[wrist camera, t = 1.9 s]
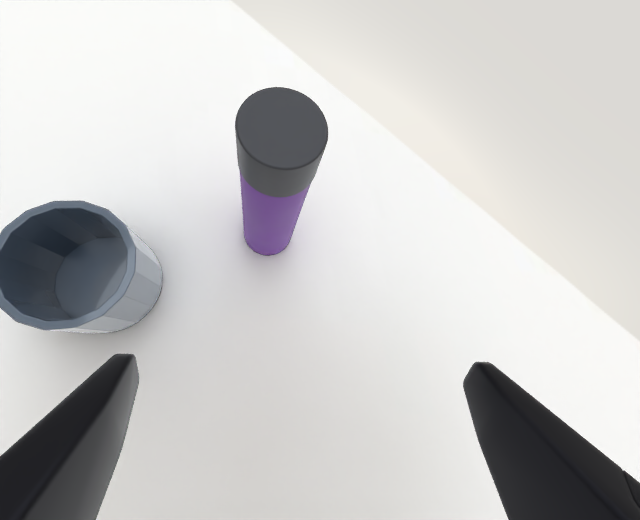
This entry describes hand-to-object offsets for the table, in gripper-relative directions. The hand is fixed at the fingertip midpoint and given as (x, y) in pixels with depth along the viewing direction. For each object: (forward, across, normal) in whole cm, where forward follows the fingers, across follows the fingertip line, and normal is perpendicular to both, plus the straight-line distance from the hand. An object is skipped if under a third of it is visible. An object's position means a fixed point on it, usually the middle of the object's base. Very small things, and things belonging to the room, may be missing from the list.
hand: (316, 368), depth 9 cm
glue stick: (+15, +1, +5) cm, 16 cm away
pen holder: (+12, +11, +8) cm, 18 cm away
